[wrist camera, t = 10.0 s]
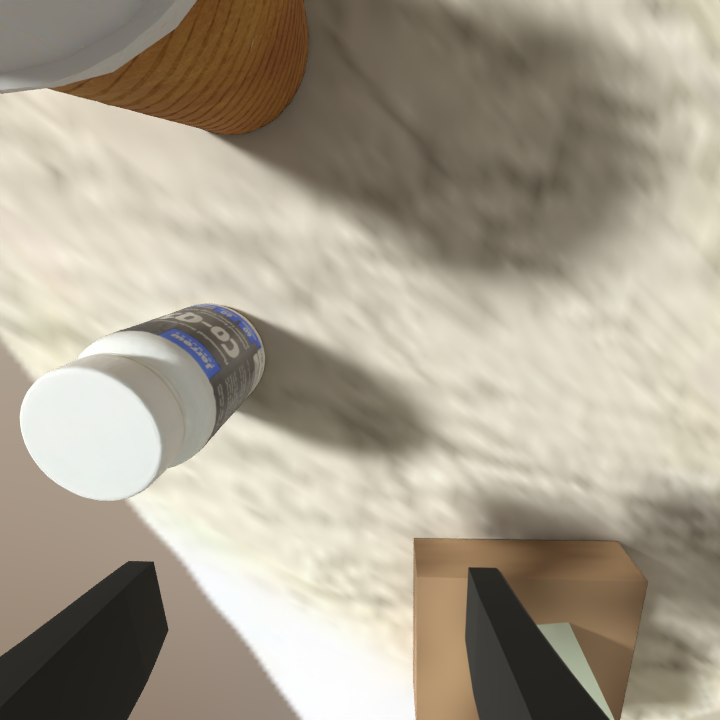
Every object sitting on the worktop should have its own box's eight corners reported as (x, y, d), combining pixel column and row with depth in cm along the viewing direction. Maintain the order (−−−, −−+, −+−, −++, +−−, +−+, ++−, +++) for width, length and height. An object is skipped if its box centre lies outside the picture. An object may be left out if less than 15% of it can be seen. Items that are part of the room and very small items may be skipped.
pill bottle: (276, 318, 18) (191, 382, 10) (256, 412, 20) (166, 534, 12) (172, 288, 18) (3, 330, 10) (159, 385, 20) (1, 489, 12)
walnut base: (617, 541, 20) (647, 581, 18) (592, 689, 23) (615, 741, 21) (413, 538, 21) (417, 577, 19) (413, 682, 24) (416, 731, 22)
